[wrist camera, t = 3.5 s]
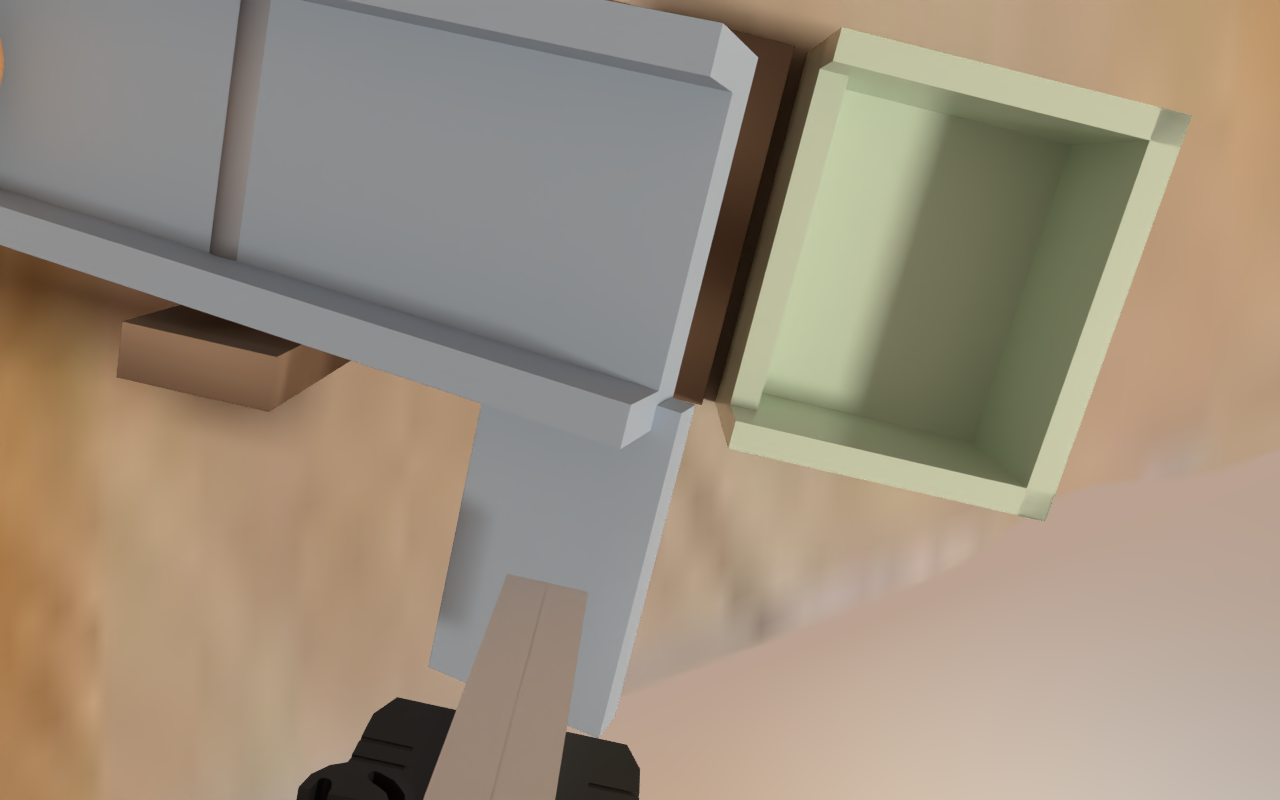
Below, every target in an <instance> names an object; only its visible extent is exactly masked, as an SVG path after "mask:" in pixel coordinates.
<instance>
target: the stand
mask: <svg viewBox="0 0 1280 800" xmlns="http://www.w3.org/2000/svg"><path fill="white" fill-rule="evenodd" d="M607 1H612V2H617V3H622V2H618V1H614V0H607ZM622 4H626V3H622ZM627 5H630V4H627ZM632 6H634V5H632ZM731 31H732V32H733V33H734V34H735V35H736V36H737V37H738V38H739V39H740V40H741V41H742V42H743V43H744V44H745V45H746V46H747V47H748V48H749V49H750V50H751V51H752V52H753V53H754V54H755V55H756V56H757V57H758V61H757V65H756V69H755V73H754V77H753V81H752V85H751V89H750V93H749V97H748V101H747V105H746V108H745V112H744V116H743V120H742V124H741V128H740V132H739V136H738V140H737V144H736V148H735V152H734V156H733V160H732V164H731V168H730V172H729V176H728V180H727V184H726V188H725V192H724V196H723V200H722V204H721V208H720V212H719V216H718V220H717V224H716V228H715V232H714V236H713V240H712V244H711V248H710V252H709V256H708V260H707V263H706V267H705V271H704V275H703V279H702V283H701V287H700V291H699V295H698V299H697V303H696V307H695V311H694V315H693V319H692V323H691V327H690V331H689V335H688V339H687V343H686V347H685V351H684V355H683V359H682V363H681V367H680V371H679V375H678V379H677V383H676V387H675V391H674V395H673V398H675V399H679V400H682V401H686V402H691V403H695V404H699V405H702V402H703V398H704V394H705V390H706V386H707V383H708V379H709V375H710V371H711V367H712V363H713V360H714V356H715V352H716V348H717V344H718V340H719V336H720V333H721V329H722V325H723V321H724V317H725V313H726V309H727V306H728V302H729V298H730V294H731V290H732V286H733V283H734V279H735V275H736V271H737V267H738V263H739V259H740V256H741V252H742V248H743V244H744V240H745V236H746V232H747V229H748V225H749V221H750V217H751V213H752V209H753V206H754V202H755V198H756V194H757V190H758V186H759V182H760V179H761V175H762V171H763V167H764V163H765V159H766V155H767V152H768V148H769V144H770V140H771V136H772V132H773V129H774V125H775V121H776V117H777V113H778V109H779V105H780V102H781V98H782V94H783V90H784V86H785V82H786V78H787V75H788V71H789V67H790V63H791V59H792V55H793V52H794V48H795V46H793V45H789V44H785V43H781V42H777V41H773V40H769V39H765V38H761V37H757V36H753V35H749V34H745V33H741V32H737V31H733V30H731ZM349 361H351V360H348V359H345V358H342V357H339V356H336V355H333V354H330V353H327V352H324V351H321V350H318V349H315V348H311V347H308V346H305V345H302V344H299V343H296V342H293V341H290V340H287V339H284V338H281V337H278V336H275V335H272V334H269V333H266V332H263V331H260V330H257V329H254V328H251V327H248V326H245V325H242V324H239V323H236V322H233V321H229V320H226V319H223V318H220V317H217V316H214V315H211V314H208V313H205V312H202V311H199V310H196V309H193V308H190V307H187V306H184V305H180V306H176V307H172V308H169V309H165V310H162V311H158V312H155V313H151V314H148V315H144V316H141V317H137V318H133V319H130V320H126V321H123V322H122V329H121V339H120V348H119V358H118V368H117V377H118V378H122V379H127V380H131V381H135V382H140V383H144V384H149V385H153V386H157V387H162V388H166V389H171V390H175V391H179V392H184V393H188V394H193V395H197V396H201V397H206V398H210V399H215V400H219V401H223V402H228V403H232V404H237V405H241V406H245V407H250V408H254V409H259V410H263V411H267V412H269V411H271V410H272V409H274V408H276V407H277V406H279V405H280V404H282V403H284V402H285V401H287V400H288V399H290V398H292V397H293V396H295V395H296V394H298V393H300V392H301V391H303V390H304V389H306V388H308V387H309V386H311V385H312V384H314V383H316V382H317V381H319V380H320V379H322V378H324V377H325V376H327V375H328V374H330V373H332V372H333V371H335V370H336V369H338V368H339V367H341V366H343V365H344V364H346V363H347V362H349Z"/></svg>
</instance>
